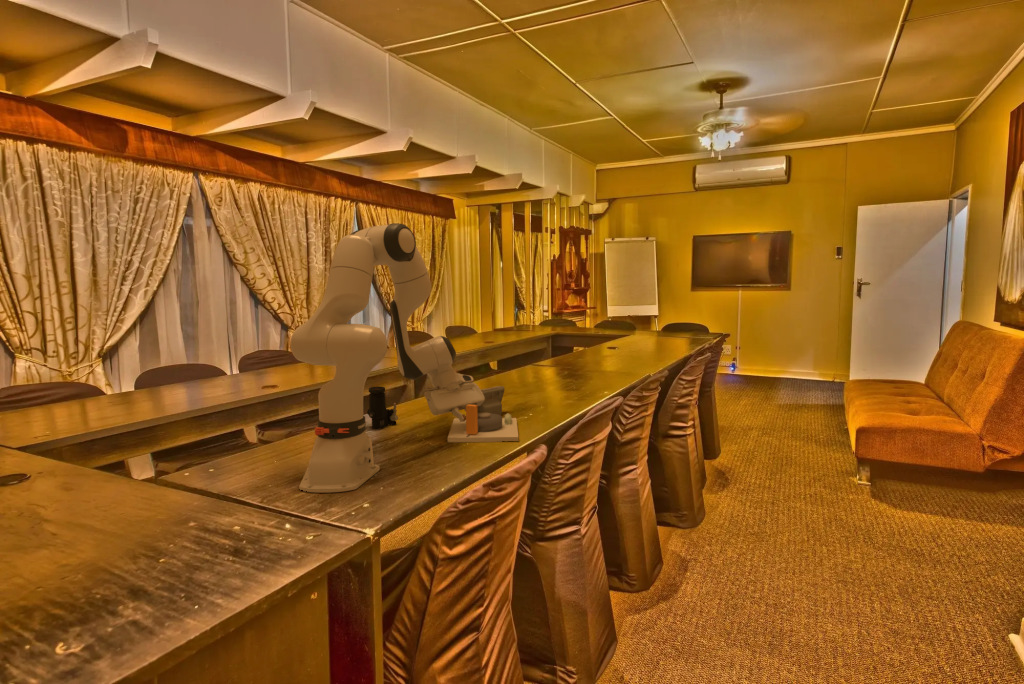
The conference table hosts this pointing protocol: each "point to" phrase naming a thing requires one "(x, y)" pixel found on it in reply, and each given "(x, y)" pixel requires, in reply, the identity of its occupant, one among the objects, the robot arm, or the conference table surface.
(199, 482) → the conference table surface
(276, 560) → the conference table surface
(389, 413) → the scope
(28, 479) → the conference table surface
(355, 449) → the robot arm
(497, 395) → the digital clock
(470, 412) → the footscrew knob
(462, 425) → the base
